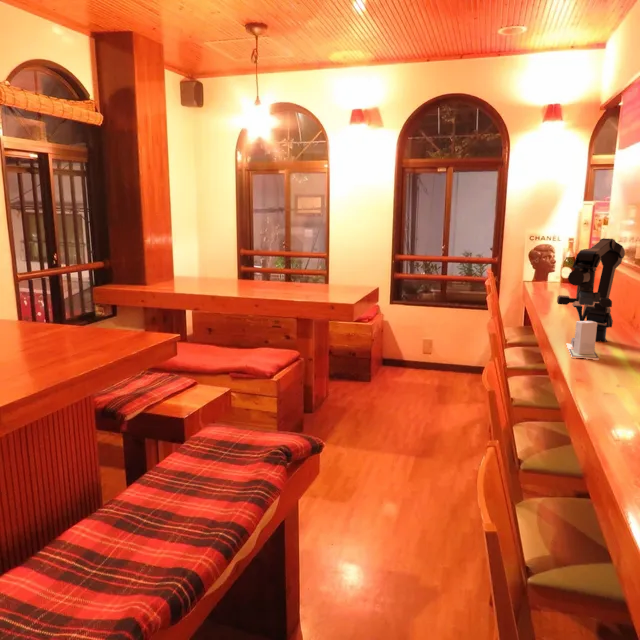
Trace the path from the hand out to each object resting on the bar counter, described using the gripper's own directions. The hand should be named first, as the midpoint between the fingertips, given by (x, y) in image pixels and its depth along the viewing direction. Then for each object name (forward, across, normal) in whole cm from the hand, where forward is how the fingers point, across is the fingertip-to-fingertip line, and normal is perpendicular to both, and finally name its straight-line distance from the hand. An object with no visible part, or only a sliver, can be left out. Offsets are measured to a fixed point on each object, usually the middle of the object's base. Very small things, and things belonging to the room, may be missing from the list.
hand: (581, 322), depth 212 cm
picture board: (+10, 0, -7) cm, 12 cm away
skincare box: (+10, 0, -12) cm, 15 cm away
